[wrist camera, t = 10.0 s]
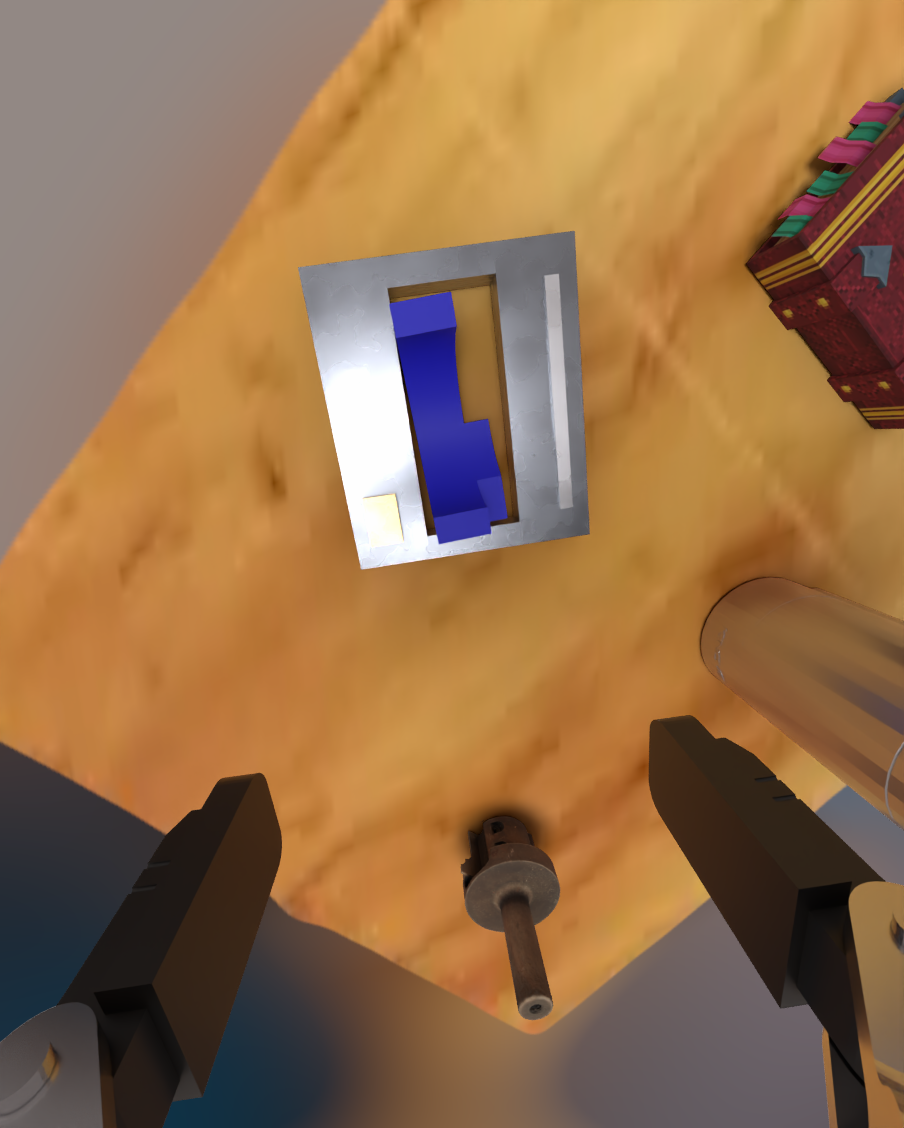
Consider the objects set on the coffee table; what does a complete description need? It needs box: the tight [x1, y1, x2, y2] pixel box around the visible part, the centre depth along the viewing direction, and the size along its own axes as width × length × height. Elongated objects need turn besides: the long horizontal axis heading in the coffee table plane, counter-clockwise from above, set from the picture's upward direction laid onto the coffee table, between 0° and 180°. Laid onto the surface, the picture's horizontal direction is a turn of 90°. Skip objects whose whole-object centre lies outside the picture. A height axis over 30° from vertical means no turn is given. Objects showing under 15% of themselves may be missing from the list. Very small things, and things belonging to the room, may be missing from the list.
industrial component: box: [461, 816, 560, 1020], centre depth 33 cm, size 9×7×12 cm
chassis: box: [298, 231, 590, 570], centre depth 27 cm, size 15×17×3 cm
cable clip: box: [389, 292, 508, 544], centre depth 26 cm, size 12×4×6 cm, turn 11°
